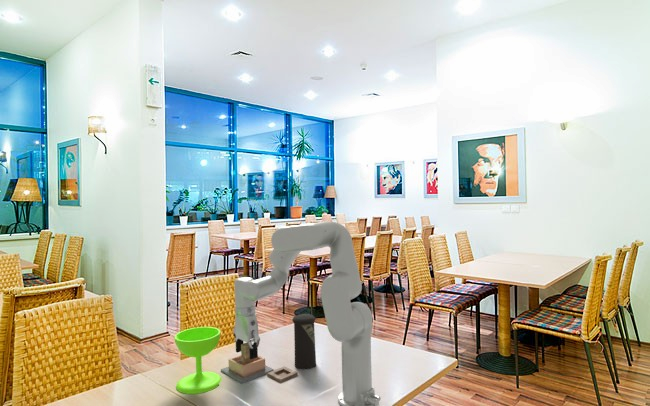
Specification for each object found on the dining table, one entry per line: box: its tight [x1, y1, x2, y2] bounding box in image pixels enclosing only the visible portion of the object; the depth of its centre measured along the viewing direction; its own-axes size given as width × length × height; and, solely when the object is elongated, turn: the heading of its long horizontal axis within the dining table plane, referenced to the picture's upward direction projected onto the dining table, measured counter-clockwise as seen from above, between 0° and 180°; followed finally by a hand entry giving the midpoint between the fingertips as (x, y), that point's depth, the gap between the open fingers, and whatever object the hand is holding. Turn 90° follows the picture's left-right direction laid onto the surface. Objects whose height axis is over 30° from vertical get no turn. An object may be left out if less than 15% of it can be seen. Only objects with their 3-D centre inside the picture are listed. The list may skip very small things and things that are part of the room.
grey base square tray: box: [220, 354, 275, 384], centre depth 154 cm, size 15×14×5 cm
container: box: [292, 313, 317, 370], centre depth 158 cm, size 9×9×20 cm
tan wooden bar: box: [240, 342, 253, 365], centre depth 154 cm, size 3×3×9 cm
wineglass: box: [174, 326, 222, 395], centre depth 146 cm, size 16×16×18 cm
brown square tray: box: [266, 365, 298, 383], centre depth 149 cm, size 8×8×2 cm
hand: (246, 354), depth 154 cm, fingers open, 9 cm apart
